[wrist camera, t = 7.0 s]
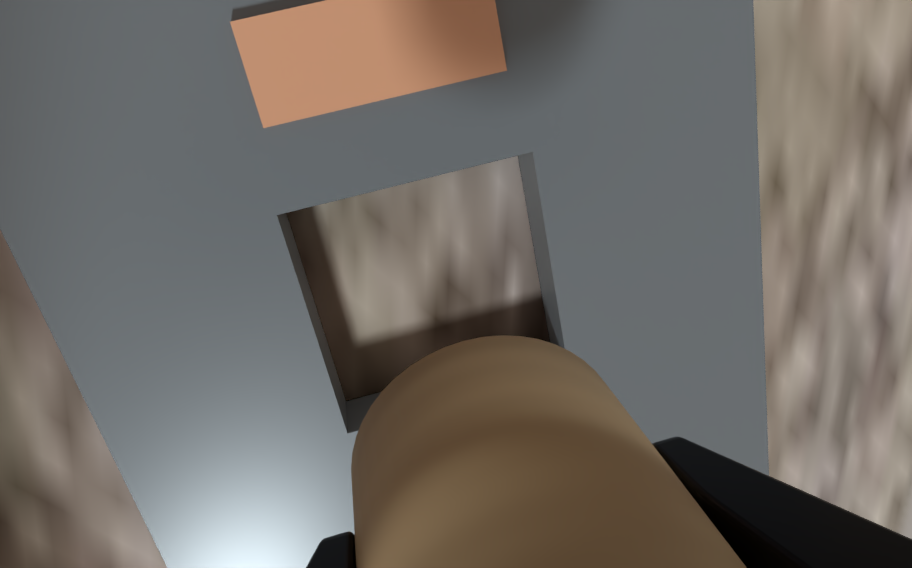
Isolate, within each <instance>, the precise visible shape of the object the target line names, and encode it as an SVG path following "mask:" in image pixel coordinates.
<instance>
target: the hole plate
mask: <svg viewBox="0 0 912 568" xmlns="http://www.w3.org/2000/svg"><path fill="white" fill-rule="evenodd" d="M514 156H518V160H519V165H520V171H521V177H522V183H523V189H524V194H525V200H526V206H527V212H528V218H529V223H530V229H531V235H532V241H533V246H534V252H535V258H536V264H537V270H538V275H539V281H540V287H541V293H542V299H543V304H544V310H545V316H546V322H547V328H548V333H549V339H550V343H553V344H555V345H558V346H560V347H562V348H564V349H566V350H568V351H570V352H572V353H573V354H575V355H576V356H578V357H579V358H581V359H583V360H584V361H585V362H586V363H587V364H588V365H589V366H591V367H592V368H593V369H594V370H595V371H596V372H597V373H598V375H599V376H600V377H601V378H602V380H603V381H604V382H605V383H606V385H607V386H608V387H609V389H610V390H611V391H612V392H613V394H614V395H615V396H616V398H617V399H618V400H619V402H620V403H621V404H622V405H623V407H624V408H625V409H626V411H627V412H628V413H629V415H630V416H631V417H632V419H633V420H634V421H635V422H636V424H637V425H638V426H639V428H640V429H641V430H642V432H643V433H644V434H645V435H646V437H647V438H648V439H649V441H650V442H651V443H654V442H658V441H661V440H665V439H668V438H672V437H682V438H685V439H687V440H689V441H691V442H694V443H696V444H698V445H700V446H703V447H705V448H707V449H709V450H712V451H714V452H716V453H718V454H721V455H723V456H725V457H727V458H730V459H732V460H734V461H736V462H739V463H741V464H743V465H745V466H748V467H750V468H752V469H754V470H757V471H759V472H761V473H763V474H766V475H768V476H769V465H768V435H767V405H766V375H765V345H764V314H763V284H762V254H761V224H760V194H759V163H758V133H757V103H756V73H755V42H754V12H753V0H0V230H1V232H2V234H3V236H4V238H5V240H6V242H7V244H8V246H9V248H10V250H11V252H12V254H13V256H14V258H15V260H16V262H17V264H18V266H19V268H20V270H21V272H22V274H23V276H24V278H25V280H26V282H27V284H28V286H29V288H30V290H31V292H32V295H33V297H34V299H35V301H36V303H37V305H38V307H39V309H40V311H41V313H42V315H43V317H44V319H45V321H46V323H47V325H48V327H49V329H50V331H51V333H52V335H53V337H54V339H55V341H56V343H57V345H58V347H59V349H60V351H61V353H62V355H63V357H64V359H65V361H66V363H67V365H68V367H69V369H70V371H71V373H72V375H73V378H74V380H75V382H76V384H77V386H78V388H79V390H80V392H81V394H82V396H83V398H84V400H85V402H86V404H87V406H88V408H89V410H90V412H91V414H92V416H93V418H94V420H95V422H96V424H97V426H98V428H99V430H100V432H101V434H102V436H103V438H104V440H105V442H106V444H107V446H108V448H109V450H110V452H111V454H112V456H113V458H114V461H115V463H116V465H117V467H118V469H119V471H120V473H121V475H122V477H123V479H124V481H125V483H126V485H127V487H128V489H129V491H130V493H131V495H132V497H133V499H134V501H135V503H136V505H137V507H138V509H139V511H140V513H141V515H142V517H143V519H144V521H145V523H146V525H147V527H148V529H149V531H150V533H151V535H152V537H153V539H154V541H155V544H156V546H157V548H158V550H159V552H160V554H161V556H162V558H163V560H164V562H165V564H166V566H167V568H306V567H307V565H308V563H309V561H310V559H311V557H312V556H313V554H314V552H315V550H316V548H317V546H318V545H319V543H320V542H321V541H322V540H323V539H324V538H327V537H330V536H334V535H337V534H340V533H344V532H348V531H350V532H352V533H353V534H354V535H355V532H354V514H353V495H352V477H351V463H352V452H353V448H354V444H355V439H356V436H357V433H358V431H359V428H360V426H361V423H362V421H363V419H364V417H365V416H366V414H367V412H368V410H369V408H370V407H371V405H372V404H373V403H374V401H375V400H376V399H377V397H378V396H379V395H380V393H381V392H379V393H375V394H372V395H368V396H364V397H361V398H357V399H353V400H350V401H346V400H345V397H344V394H343V390H342V387H341V384H340V381H339V378H338V375H337V372H336V368H335V365H334V362H333V359H332V356H331V353H330V350H329V346H328V343H327V340H326V337H325V334H324V331H323V328H322V324H321V321H320V318H319V315H318V312H317V309H316V305H315V302H314V299H313V296H312V293H311V290H310V287H309V283H308V280H307V277H306V274H305V271H304V268H303V265H302V261H301V258H300V255H299V252H298V249H297V246H296V242H295V239H294V236H293V233H292V230H291V227H290V224H289V220H288V217H287V214H286V213H288V212H292V211H296V210H300V209H304V208H308V207H312V206H316V205H320V204H324V203H328V202H332V201H336V200H340V199H344V198H348V197H352V196H356V195H360V194H364V193H368V192H372V191H376V190H380V189H385V188H389V187H393V186H397V185H401V184H405V183H409V182H413V181H417V180H421V179H425V178H429V177H433V176H437V175H441V174H445V173H449V172H453V171H457V170H461V169H465V168H469V167H473V166H477V165H481V164H485V163H489V162H493V161H498V160H502V159H506V158H510V157H514Z"/></svg>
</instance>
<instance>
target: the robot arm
mask: <svg viewBox="0 0 912 568" xmlns="http://www.w3.org/2000/svg"><path fill="white" fill-rule="evenodd" d="M652 445H653V446H654V447H655V449H656V450H657V451H658V452H659V454H660V455H661V456H662V458H663V459H664V460H665V462H666V463H667V464H668V465H669V467H670V468H671V469H672V471H673V472H674V473H675V475H676V476H677V477H678V479H679V480H680V481H681V482H682V484H683V485H684V486H685V488H686V489H687V490H688V492H689V493H690V494H691V495H692V497H693V498H694V499H695V501H696V502H697V503H698V505H699V506H700V507H701V509H702V510H703V511H704V512H705V514H706V515H707V516H708V518H709V519H710V520H711V522H712V523H713V524H714V525H715V527H716V528H717V529H718V531H719V532H720V533H721V535H722V536H723V537H724V539H725V540H726V541H727V542H728V544H729V545H730V546H731V548H732V549H733V550H734V552H735V553H736V554H737V555H738V557H739V558H740V559H741V561H742V562H743V563H744V565H745V566H746V567H747V568H912V539H910V538H908V537H905V536H903V535H901V534H899V533H896V532H894V531H892V530H890V529H887V528H885V527H883V526H881V525H878V524H876V523H874V522H872V521H869V520H867V519H865V518H863V517H860V516H858V515H856V514H854V513H851V512H849V511H847V510H845V509H842V508H840V507H838V506H836V505H833V504H831V503H829V502H827V501H824V500H822V499H820V498H818V497H815V496H813V495H811V494H809V493H806V492H804V491H802V490H800V489H797V488H795V487H793V486H791V485H788V484H786V483H784V482H782V481H779V480H777V479H775V478H773V477H770V476H768V475H766V474H763V473H761V472H759V471H757V470H754V469H752V468H750V467H748V466H745V465H743V464H741V463H739V462H736V461H734V460H732V459H730V458H727V457H725V456H723V455H721V454H718V453H716V452H714V451H712V450H709V449H707V448H705V447H703V446H700V445H698V444H696V443H694V442H691V441H689V440H687V439H685V438H682V437H672V438H668V439H665V440H661V441H658V442H654V443H652ZM306 568H356V550H355V535H354V534H353V533H352V532H350V531H348V532H344V533H340V534H337V535H334V536H330V537H327V538H324V539H323V540H322V541H321V542H320V543H319V545H318V546H317V548H316V550H315V552H314V554H313V556H312V557H311V559H310V561H309V563H308V565H307V567H306Z"/></svg>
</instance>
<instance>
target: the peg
mask: <svg viewBox="0 0 912 568" xmlns="http://www.w3.org/2000/svg"><path fill="white" fill-rule="evenodd" d="M351 477H352V495H353V514H354V532H355V550H356V568H747V567H746V566H745V565H744V563H743V562H742V561H741V559H740V558H739V557H738V555H737V554H736V553H735V552H734V550H733V549H732V548H731V546H730V545H729V544H728V542H727V541H726V540H725V539H724V537H723V536H722V535H721V533H720V532H719V531H718V529H717V528H716V527H715V525H714V524H713V523H712V522H711V520H710V519H709V518H708V516H707V515H706V514H705V512H704V511H703V510H702V509H701V507H700V506H699V505H698V503H697V502H696V501H695V499H694V498H693V497H692V495H691V494H690V493H689V492H688V490H687V489H686V488H685V486H684V485H683V484H682V482H681V481H680V480H679V479H678V477H677V476H676V475H675V473H674V472H673V471H672V469H671V468H670V467H669V465H668V464H667V463H666V462H665V460H664V459H663V458H662V456H661V455H660V454H659V452H658V451H657V450H656V449H655V447H654V446H653V445H652V443H651V442H650V441H649V439H648V438H647V437H646V435H645V434H644V433H643V432H642V430H641V429H640V428H639V426H638V425H637V424H636V422H635V421H634V420H633V419H632V417H631V416H630V415H629V413H628V412H627V411H626V409H625V408H624V407H623V405H622V404H621V403H620V402H619V400H618V399H617V398H616V396H615V395H614V394H613V392H612V391H611V390H610V389H609V387H608V386H607V385H606V383H605V382H604V381H603V380H602V378H601V377H600V376H599V375H598V373H597V372H596V371H595V370H594V369H593V368H592V367H591V366H589V365H588V364H587V363H586V362H585V361H584V360H583V359H581V358H579V357H578V356H576V355H575V354H573V353H572V352H570V351H568V350H566V349H564V348H562V347H560V346H558V345H555V344H553V343H549V342H546V341H543V340H539V339H535V338H529V337H523V336H506V335H499V336H488V337H480V338H475V339H470V340H465V341H461V342H458V343H455V344H452V345H449V346H446V347H444V348H442V349H439V350H437V351H435V352H433V353H431V354H429V355H427V356H425V357H423V358H422V359H420V360H419V361H417V362H415V363H414V364H412V365H411V366H409V367H408V368H407V369H406V370H404V371H403V372H402V373H401V374H399V375H398V376H397V377H395V378H394V379H393V380H392V382H391V383H390V384H389V385H388V386H387V387H386V388H385V389H384V390H383V391H382V392H381V393H380V395H379V396H378V397H377V399H376V400H375V401H374V403H373V404H372V405H371V407H370V408H369V410H368V412H367V414H366V416H365V417H364V419H363V421H362V423H361V426H360V428H359V431H358V433H357V436H356V439H355V444H354V448H353V452H352V463H351Z"/></svg>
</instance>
